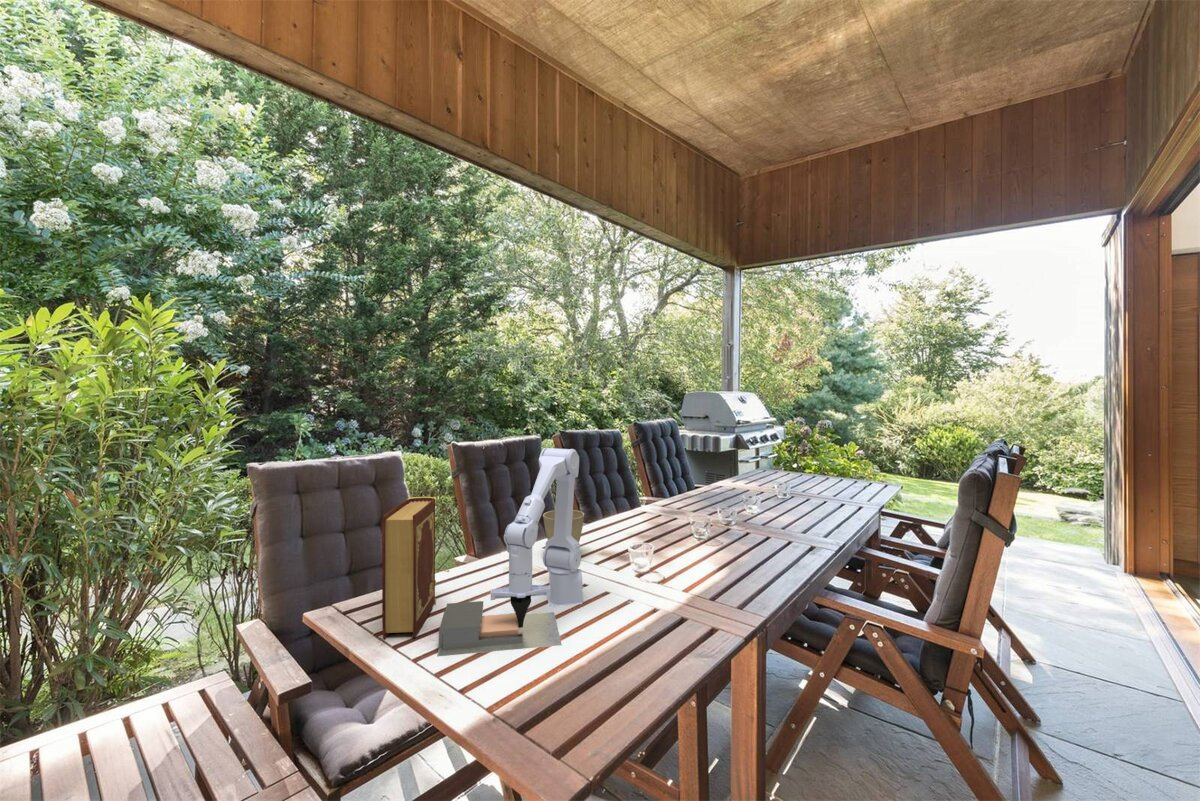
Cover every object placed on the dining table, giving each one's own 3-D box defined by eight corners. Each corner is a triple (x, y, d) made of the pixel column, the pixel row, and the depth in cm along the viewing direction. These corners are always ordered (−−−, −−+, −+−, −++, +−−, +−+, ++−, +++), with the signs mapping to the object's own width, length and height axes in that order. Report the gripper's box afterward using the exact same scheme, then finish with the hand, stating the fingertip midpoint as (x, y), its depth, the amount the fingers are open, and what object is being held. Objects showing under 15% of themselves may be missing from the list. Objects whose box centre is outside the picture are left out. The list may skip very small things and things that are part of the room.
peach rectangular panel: (516, 622, 128) (516, 613, 128) (518, 639, 119) (518, 629, 119) (452, 628, 125) (452, 618, 125) (448, 645, 116) (448, 635, 116)
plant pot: (543, 552, 188) (543, 509, 187) (582, 551, 189) (582, 509, 189) (542, 565, 173) (543, 519, 173) (585, 564, 174) (585, 518, 174)
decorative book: (409, 601, 142) (409, 496, 142) (437, 601, 143) (438, 496, 142) (381, 640, 120) (381, 515, 119) (415, 639, 120) (415, 515, 120)
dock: (554, 614, 134) (554, 592, 134) (561, 647, 117) (561, 622, 117) (445, 622, 129) (445, 600, 129) (436, 659, 111) (436, 633, 111)
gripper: (490, 578, 118) (490, 635, 118) (551, 574, 121) (551, 630, 121) (491, 568, 125) (490, 622, 125) (548, 565, 128) (548, 617, 128)
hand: (520, 625), depth 124 cm, fingers closed
